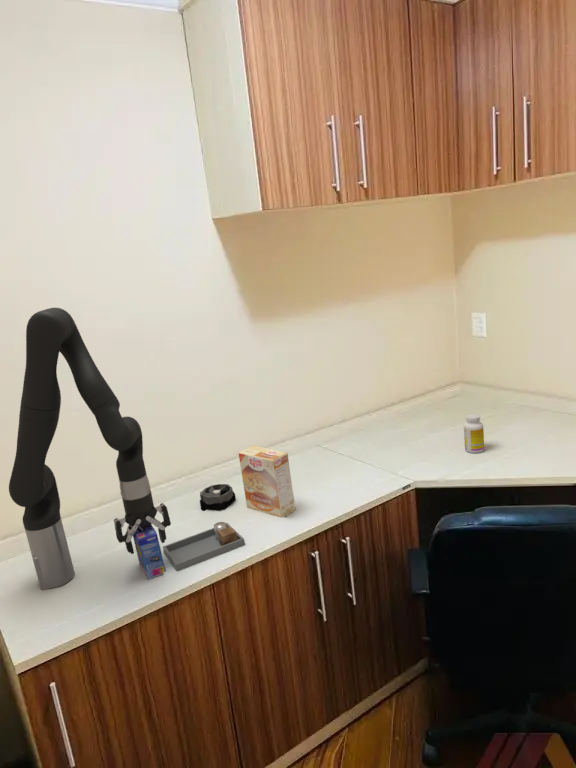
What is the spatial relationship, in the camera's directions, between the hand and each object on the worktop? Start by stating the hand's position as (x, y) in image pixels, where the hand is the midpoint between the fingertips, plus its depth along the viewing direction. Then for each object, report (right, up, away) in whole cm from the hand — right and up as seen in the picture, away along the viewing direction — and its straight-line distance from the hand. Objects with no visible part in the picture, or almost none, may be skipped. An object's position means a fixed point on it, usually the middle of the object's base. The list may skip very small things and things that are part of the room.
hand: (147, 547), depth 158 cm
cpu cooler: (+15, +4, +35) cm, 38 cm away
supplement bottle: (+105, +20, +51) cm, 118 cm away
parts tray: (+14, -3, +7) cm, 16 cm away
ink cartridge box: (+1, -7, +2) cm, 7 cm away
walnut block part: (+21, -1, +8) cm, 23 cm away
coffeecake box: (+33, +4, +27) cm, 42 cm away
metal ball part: (+19, -1, +12) cm, 22 cm away
